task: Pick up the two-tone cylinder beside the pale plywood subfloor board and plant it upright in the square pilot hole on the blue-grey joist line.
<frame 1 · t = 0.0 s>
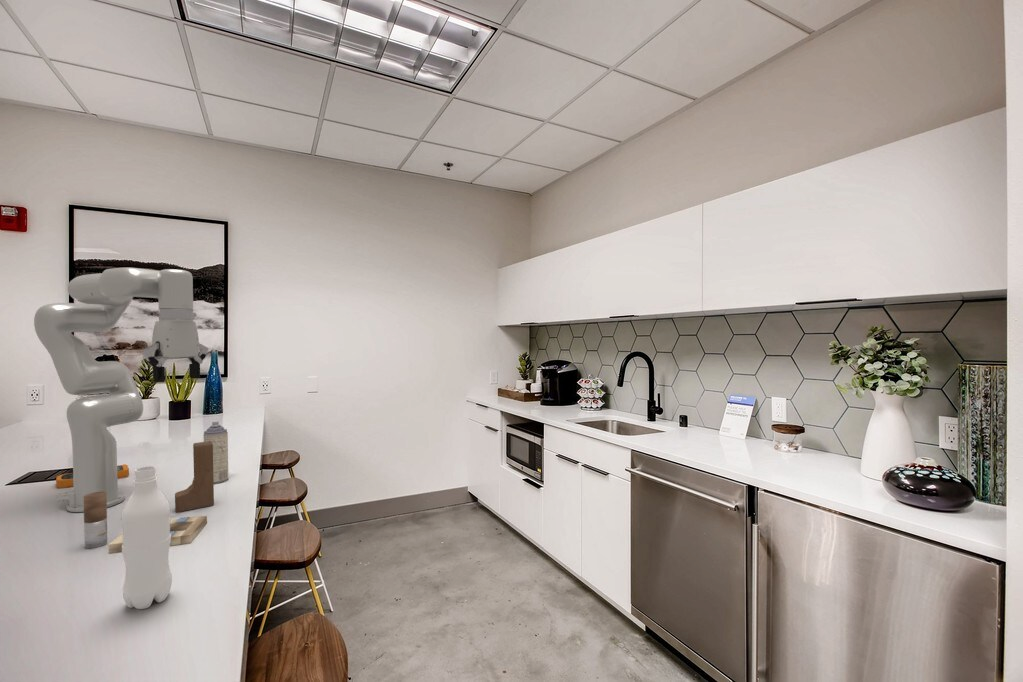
hand: (177, 379, 124), 37 cm above the counter, tool pointing down, fingers open, 9 cm apart
multimeter: (93, 481, 156), on the counter
wooden block: (194, 507, 132), on the counter
subfloor board: (161, 537, 113), on the counter
two-tone cylinder: (96, 544, 109), on the counter
aerosol can: (216, 481, 155), on the counter
water bottle: (148, 602, 86), on the counter
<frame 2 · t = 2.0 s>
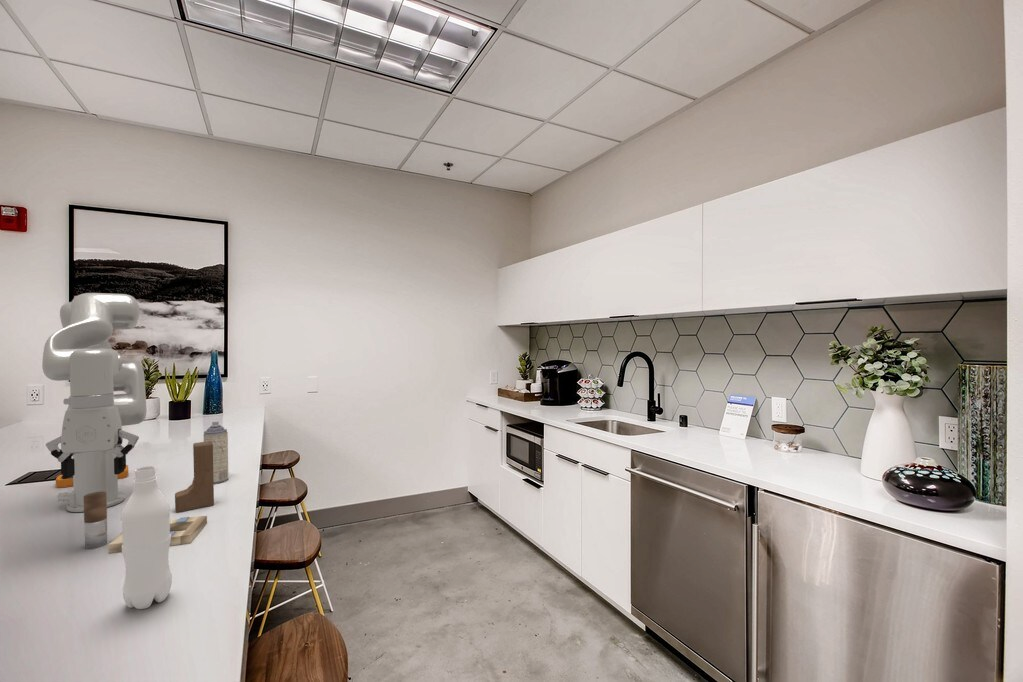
hand: (94, 475, 108), 17 cm above the counter, tool pointing down, fingers open, 9 cm apart
nothing on the counter moved.
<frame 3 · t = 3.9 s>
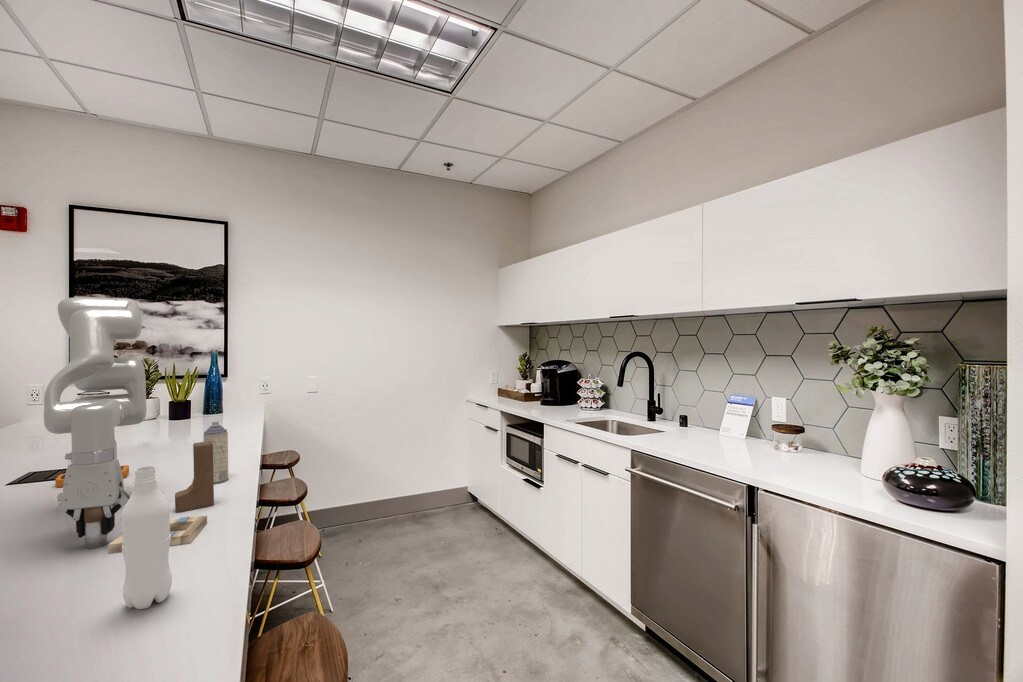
hand: (95, 532, 109), 3 cm above the counter, tool pointing down, fingers closed on two-tone cylinder, 4 cm apart
two-tone cylinder: (96, 544, 109), on the counter, touching gripper
everything else where it was.
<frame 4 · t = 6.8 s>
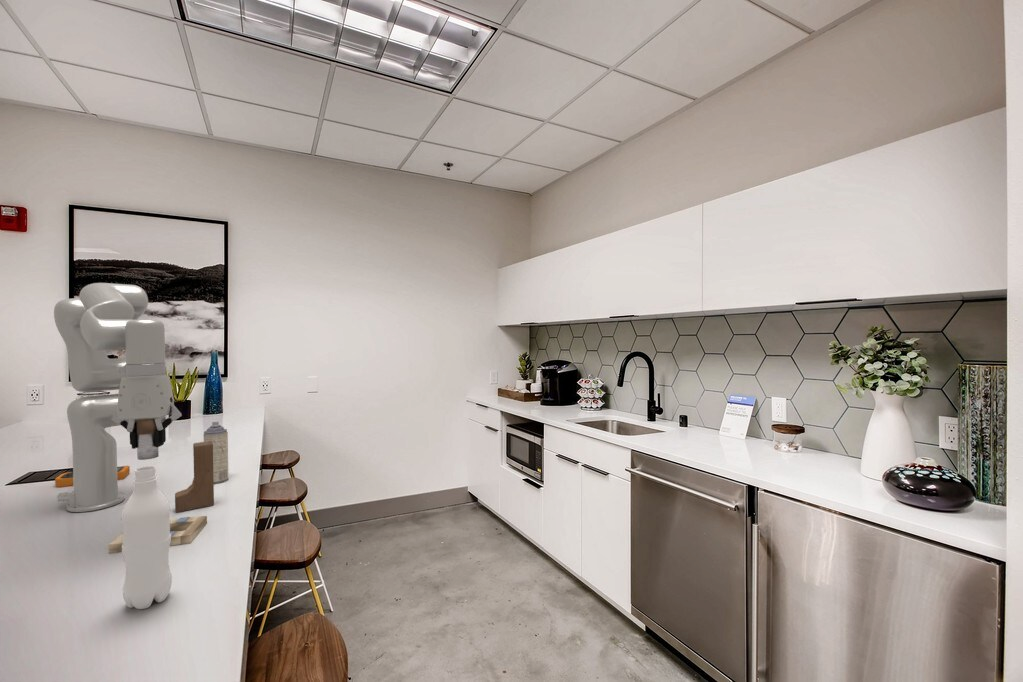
hand: (148, 445, 112), 23 cm above the counter, tool pointing down, fingers closed on two-tone cylinder, 4 cm apart
two-tone cylinder: (148, 457, 112), point 20 cm above the counter, touching gripper
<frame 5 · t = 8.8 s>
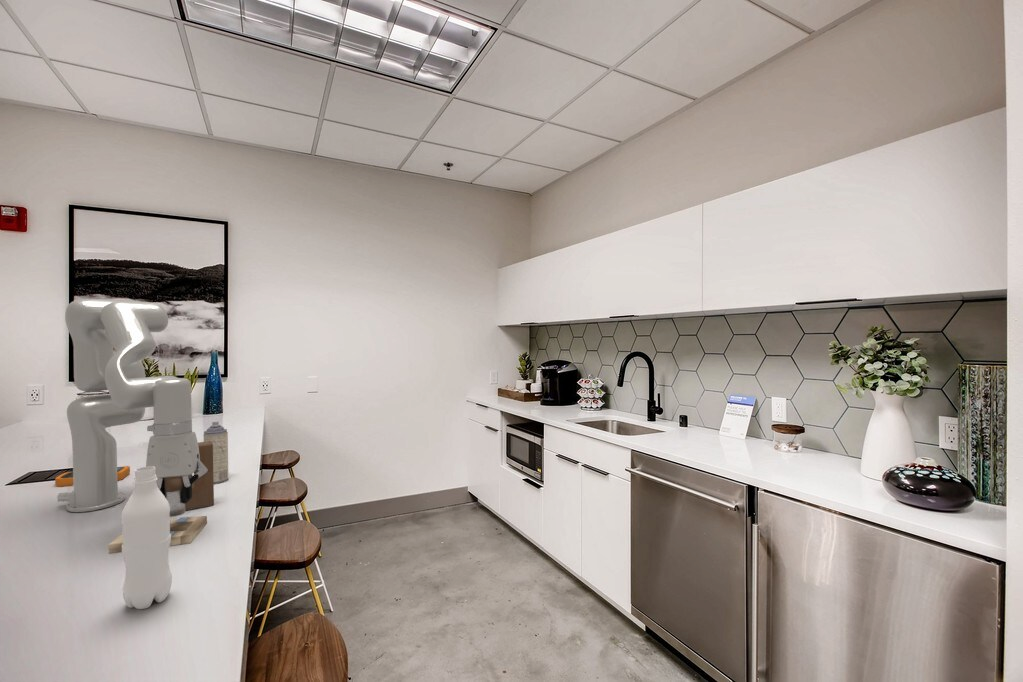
hand: (175, 502, 114), 8 cm above the counter, tool pointing down, fingers closed on two-tone cylinder, 4 cm apart
two-tone cylinder: (175, 513, 114), point 6 cm above the counter, touching gripper
when the fingers open (4 cm above the counter, at t = 10.0 s): two-tone cylinder drops 1 cm, resting in subfloor board.
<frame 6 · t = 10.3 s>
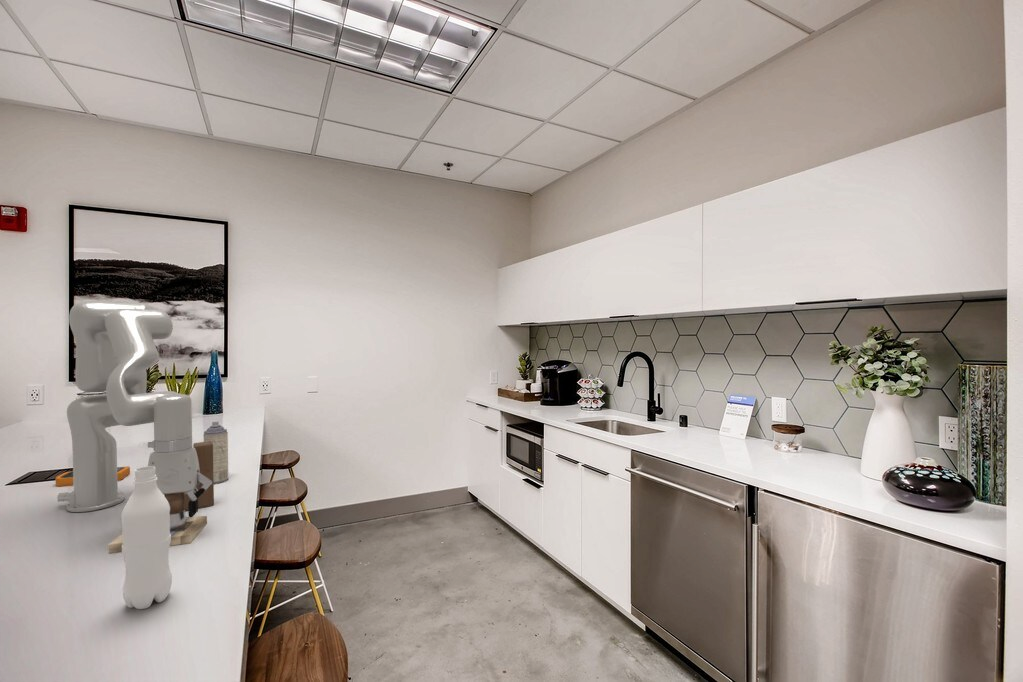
hand: (175, 516, 114), 5 cm above the counter, tool pointing down, fingers open, 6 cm apart
two-tone cylinder: (175, 535, 114), resting in subfloor board
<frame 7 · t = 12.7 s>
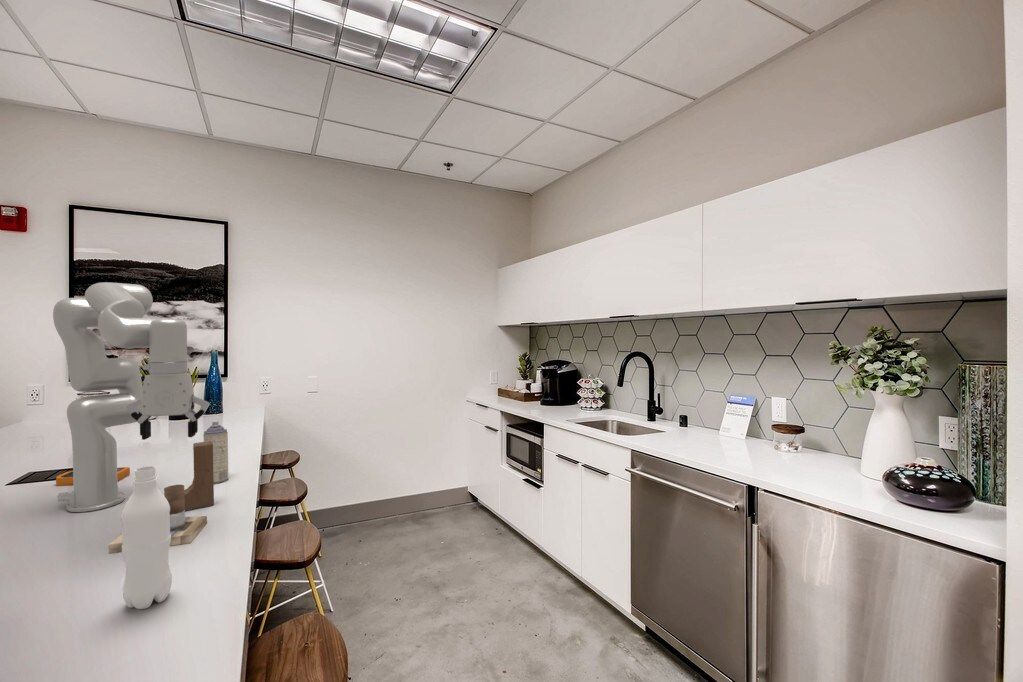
hand: (169, 437, 115), 24 cm above the counter, tool pointing down, fingers open, 9 cm apart
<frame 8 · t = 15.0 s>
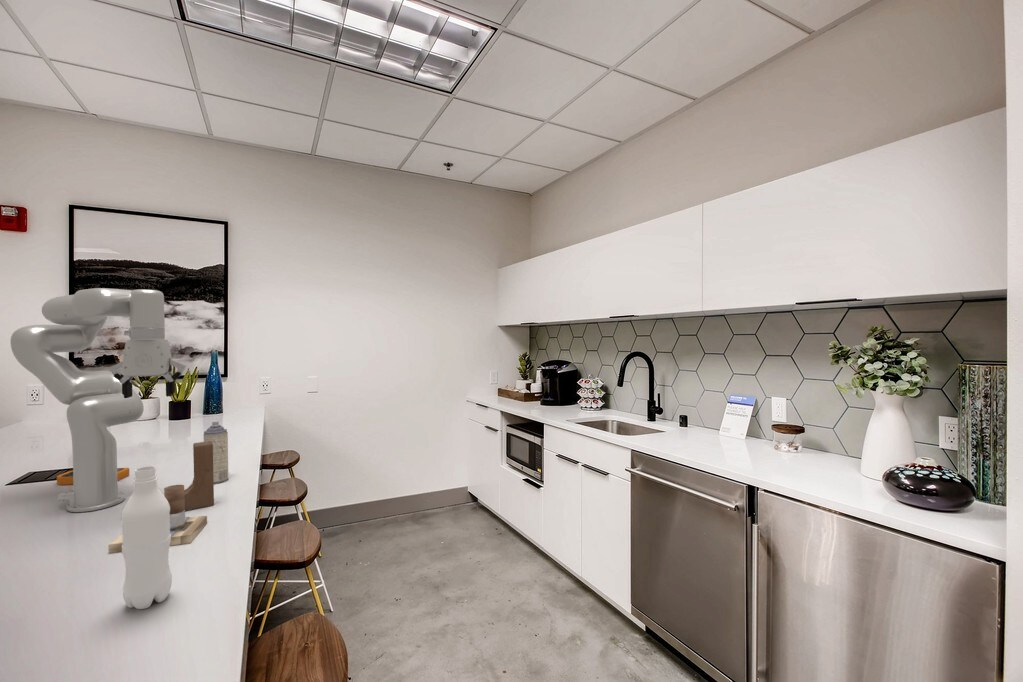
hand: (149, 396, 128), 32 cm above the counter, tool pointing down, fingers open, 9 cm apart
at the end: two-tone cylinder 0.1 cm from the target spot on the subfloor board, point 0.0 cm above the subfloor board's base; two-tone cylinder tilted 0°; the gripper is holding nothing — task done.
